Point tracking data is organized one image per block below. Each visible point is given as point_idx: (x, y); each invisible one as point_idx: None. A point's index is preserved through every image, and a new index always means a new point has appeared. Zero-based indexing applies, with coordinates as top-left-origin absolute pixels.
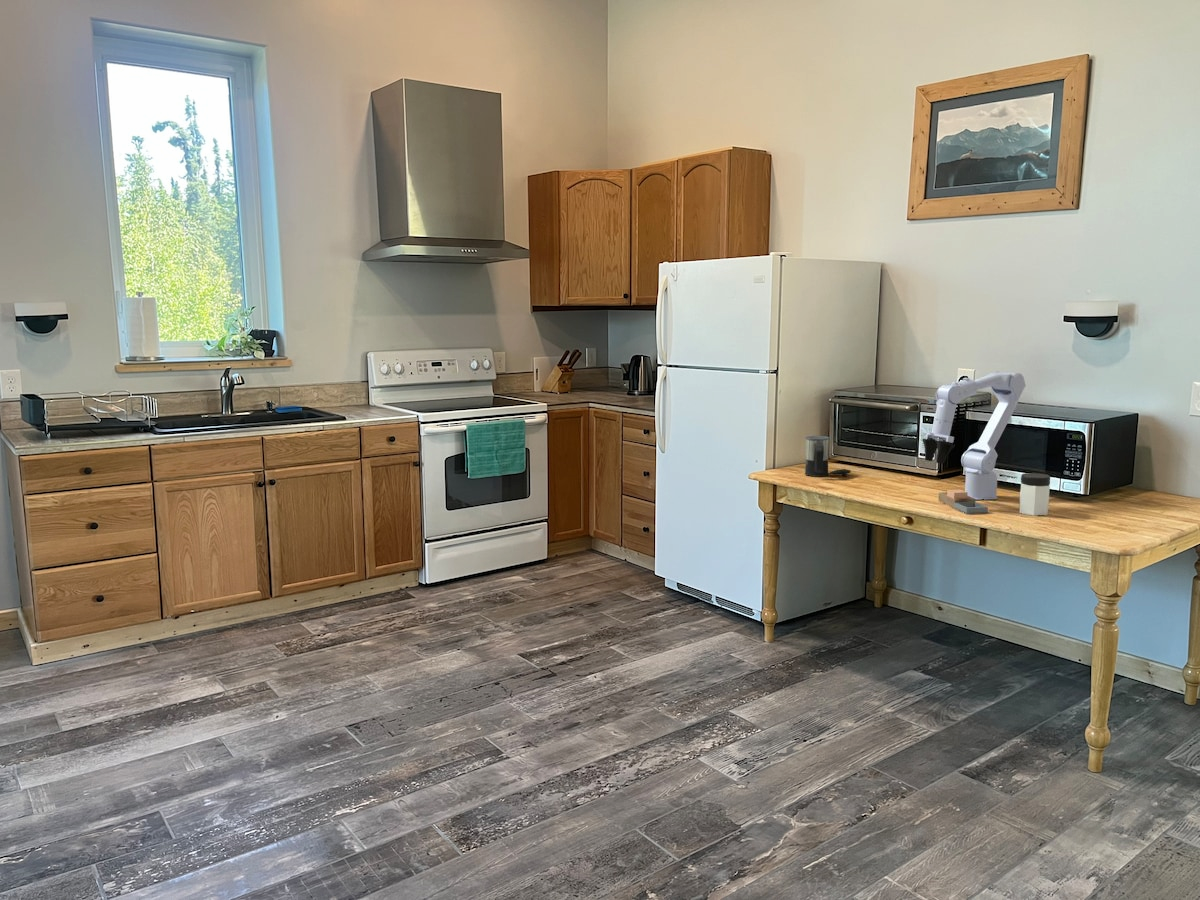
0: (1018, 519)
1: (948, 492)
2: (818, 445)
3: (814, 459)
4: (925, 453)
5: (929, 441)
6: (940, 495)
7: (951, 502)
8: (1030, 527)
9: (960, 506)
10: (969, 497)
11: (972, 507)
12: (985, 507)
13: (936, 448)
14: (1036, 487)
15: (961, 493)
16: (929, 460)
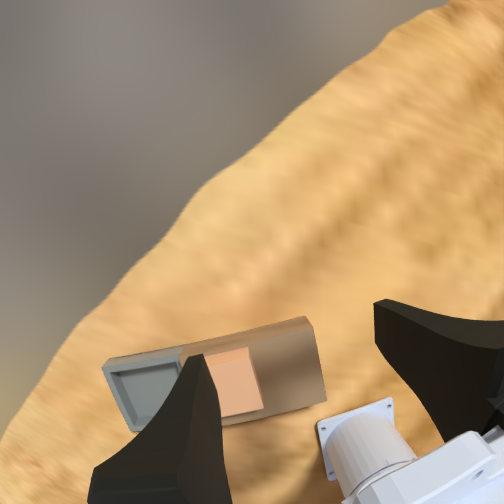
0: (87, 457)
1: (238, 355)
2: None
3: None
4: (413, 312)
5: (478, 389)
6: (295, 327)
7: (204, 346)
8: (26, 441)
9: (141, 359)
10: (225, 416)
11: (113, 387)
12: (127, 424)
13: (432, 416)
14: None
15: None
16: (375, 328)
